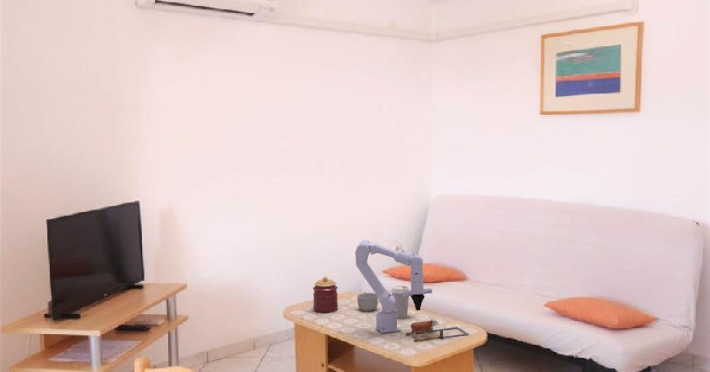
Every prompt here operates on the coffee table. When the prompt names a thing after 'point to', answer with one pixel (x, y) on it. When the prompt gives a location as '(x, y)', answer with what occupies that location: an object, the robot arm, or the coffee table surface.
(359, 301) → the teacup
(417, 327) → the bull figurine
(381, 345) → the coffee table surface
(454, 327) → the frame
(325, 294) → the canister
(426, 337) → the pair of brown bars
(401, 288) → the coffee cup
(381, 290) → the robot arm
